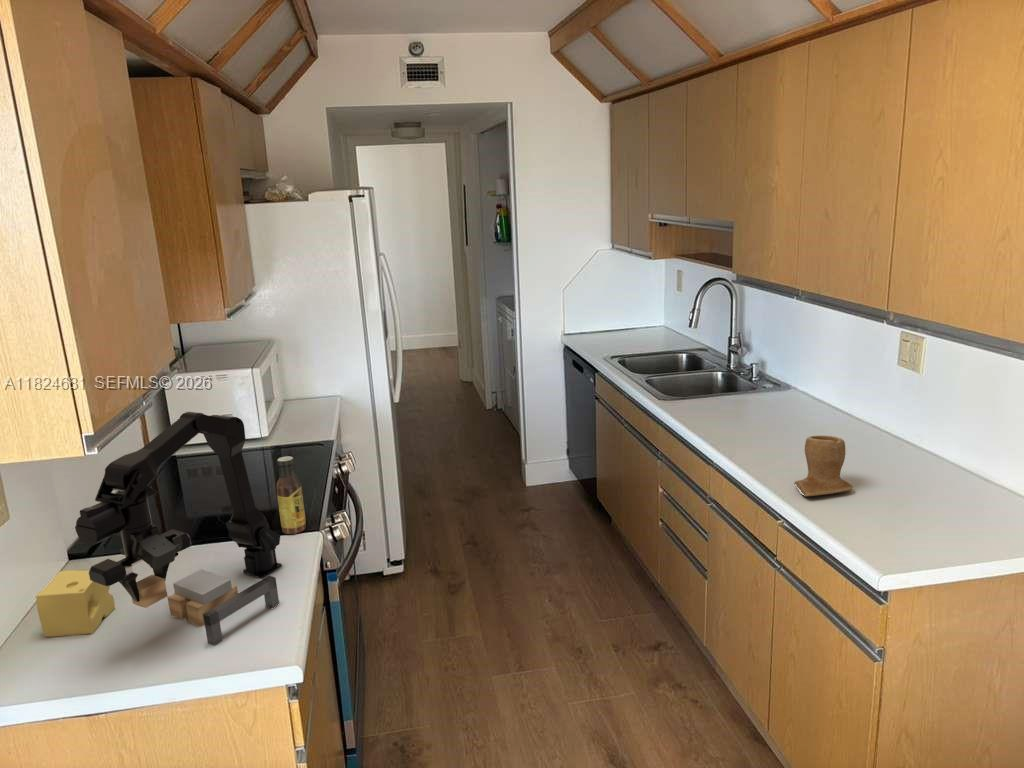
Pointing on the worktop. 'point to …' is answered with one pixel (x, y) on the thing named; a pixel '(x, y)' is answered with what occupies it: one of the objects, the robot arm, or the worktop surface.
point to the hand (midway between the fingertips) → (149, 595)
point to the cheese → (73, 604)
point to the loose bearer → (150, 590)
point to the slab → (202, 586)
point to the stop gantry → (239, 606)
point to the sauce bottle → (290, 498)
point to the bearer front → (206, 607)
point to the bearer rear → (178, 606)
